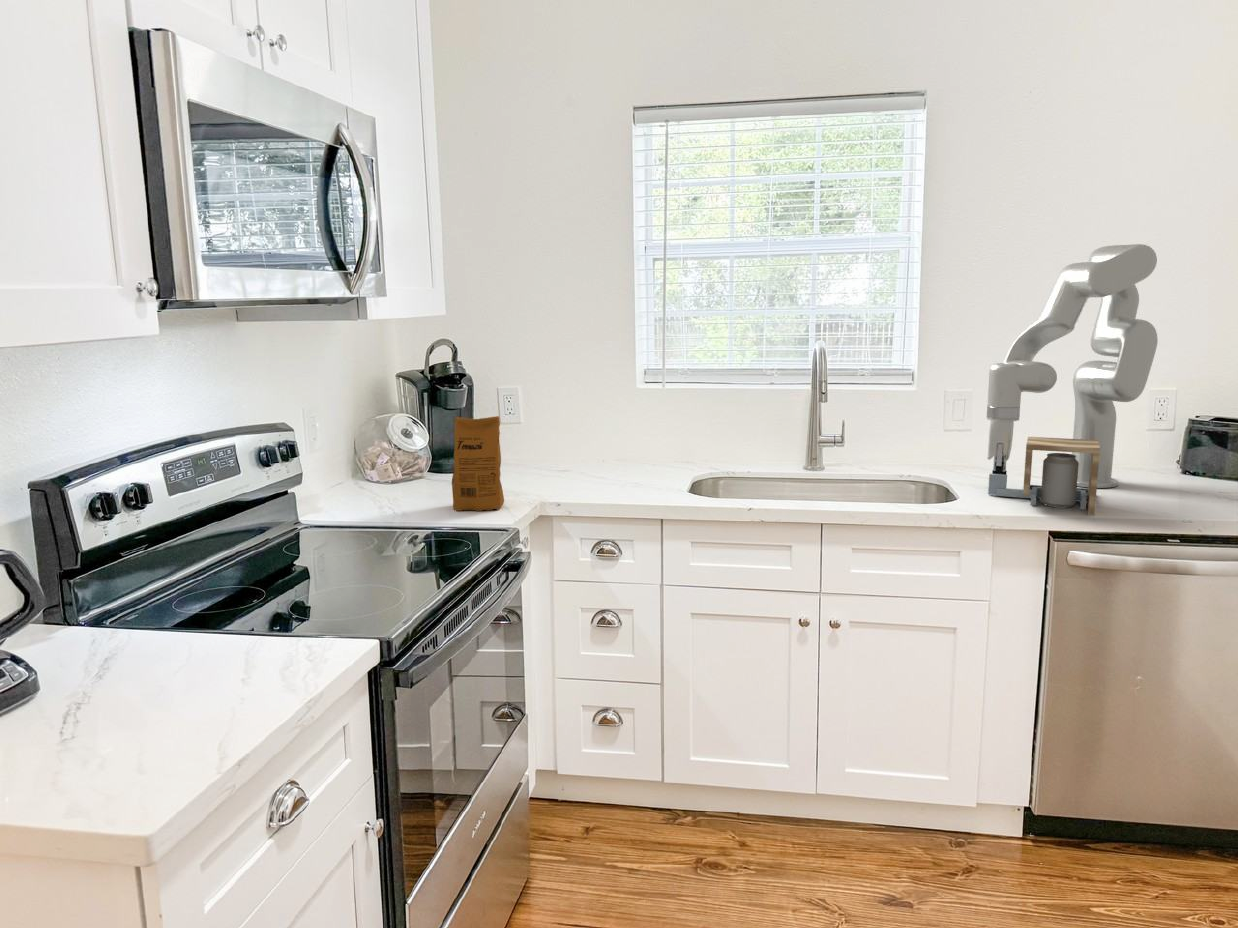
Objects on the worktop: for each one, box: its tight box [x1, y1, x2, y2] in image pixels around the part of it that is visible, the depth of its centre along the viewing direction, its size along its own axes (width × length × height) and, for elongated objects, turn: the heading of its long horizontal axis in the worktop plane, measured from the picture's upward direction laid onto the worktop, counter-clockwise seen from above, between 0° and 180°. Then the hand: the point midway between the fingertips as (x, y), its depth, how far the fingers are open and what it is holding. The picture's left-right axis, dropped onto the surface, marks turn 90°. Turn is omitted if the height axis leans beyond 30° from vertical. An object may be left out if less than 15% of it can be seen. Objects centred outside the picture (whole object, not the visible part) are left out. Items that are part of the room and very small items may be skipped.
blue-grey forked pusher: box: [987, 473, 1087, 510], centre depth 222 cm, size 10×21×5 cm, turn 65°
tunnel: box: [1022, 436, 1100, 516], centre depth 216 cm, size 12×15×15 cm
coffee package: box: [451, 415, 505, 512], centre depth 223 cm, size 10×12×22 cm
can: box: [1040, 452, 1079, 508], centre depth 218 cm, size 8×8×12 cm
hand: (998, 486), depth 234 cm, fingers closed
